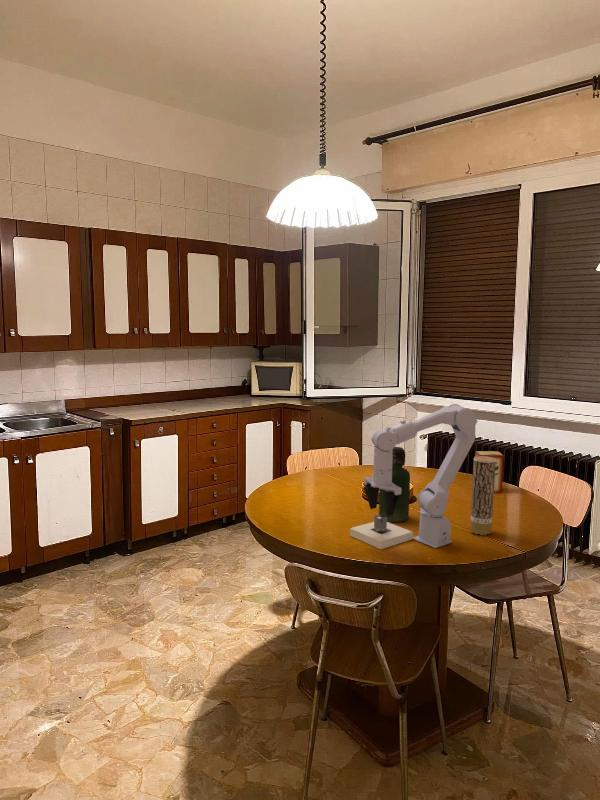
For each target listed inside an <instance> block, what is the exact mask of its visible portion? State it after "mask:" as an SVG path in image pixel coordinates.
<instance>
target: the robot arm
mask: <svg viewBox="0 0 600 800" xmlns="http://www.w3.org/2000/svg"><path fill="white" fill-rule="evenodd" d="M477 423H478V418H477V416H476V414H475V412H474V411H473V410H472V409H470V408H468V407H464V406H461V405H460V404H458V403H453V404H452V403H451V404H450V405H446V406H443V407H441V408H440V409H438V410H436V411H434V412H431V413H429V414H427V415H424V416H423V417H421V418H418V419H417V420H414V421H412V420H409V419H407V420H405V419H401V420H400V422H399V423H397V424H395V425H391V426H390V425H388V426H386V428H385V429H383V428H382V429H381V428H380V429H378V430H376V431H375V432H374V433H373V435H372V437H371V442H372V444H373V472H372V475H373V476H372V477H370V476H367V477H364V478H363V484H364V485H365V486H363V490H364V492H365V495H366V497H367V501H368V506H369V509H370V510H373V509H377V506H378V496H379V493H380V489H383V490H386V491H389V493H385V494H384V497H385V500H386V512H387V515H388V516H390V515H393V513H394V510H395V507H396V504H397V502H398V500H399V498H400V497H401V495H402V493H401V488H400V487H398V486H396V485H395V484H393V483H392V458H393V455H392V451H393V448H394V447H396V446H397V445H400V444H402V443H404V442H407V441H410V440H411V439H414V438H416V437H417V435H418V432H421V431H423V430H424V431H425V430H427V429H430V428H432V427H435V426H438V425H441V424H444V425H449V426H451V428H452V430H453V432H454V435H455V438H454V440H453V442H452V445H451V446H450V448H449V449H448V451H447V453H446V455H445V456H444V457H445V458H444V459H443V461H442V463H441V465H440V467H439V469H438V470H437V472H436V474H435V476H434V478H433V480H432V481H431V482H429V483H426V484H427V485H426V486H425V487H424V488H423V489H422V490H421V491H420V492H419V493H418V495H417V503H418V505H419V506H420V509H419V524H418V525H419V526H418V527H419V528H418V535H416V536H412V540H415V541H417V542H418V543H422V544H424V545H427V546H430V547H432V548H434V549H437V548H439V547H444V546H446V545H448V544H451V543H453V541H452V540H451V533H452V523H451V520H450V519H449V518H448V517H446V516H445V515H444V514H445V512H446V511H447V508H448V506H447V505H448V501H449V499H450V493H449V492H450V491H449V489H450V487H451V485H452V483H453V482H454V480H455V478H456V476H457V474H458V472H459V470H460V468H461V467H462V465H463V463H464V462H465V459H466V458H467V456H468V453H469V451H470V450H471V448H472V446H473V444H474V442H475V441H476V425H477Z"/></svg>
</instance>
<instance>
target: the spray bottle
mask: <svg viewBox="0 0 600 800" xmlns="http://www.w3.org/2000/svg"><path fill="white" fill-rule="evenodd" d="M392 455H393V458H392V483H393V484H395V485H396V486H398V487H400V488H401V493H402V495H401V497H400V498H399V500H398V502H397V504H396V507H395V510H394V513H393V515H390V516H388V515H387V512H386V500H385V497H384V494H385V493H389V491H386V490H383V489H379V493H378V496H379V498H378V501H379V502H378V515H384V516H386V517H387V522H389V523H391V522H392V523H400V522H405V521H407V520H408V519H409V517H410V512H409V511H410V487H411V473H410V472H409V470H408V469H406V468H404V466H405V463H406V451H405V449H404V448H403V447H401V446H395V447H394V448H393V451H392Z"/></svg>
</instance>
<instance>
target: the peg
mask: <svg viewBox="0 0 600 800" xmlns="http://www.w3.org/2000/svg"><path fill="white" fill-rule="evenodd" d="M373 522H374V531H375V532H377V533H379V534H383V533H386V532H387V522H388V521H387V517H386V516H384V515H379V514H376V515H374V516H373Z"/></svg>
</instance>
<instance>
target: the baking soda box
mask: <svg viewBox="0 0 600 800" xmlns="http://www.w3.org/2000/svg"><path fill="white" fill-rule="evenodd" d="M476 456H488V457H493V458H495V459H496V464H495V482H494V494H502V493H503V492H502V491H503V490H502V489H503V476H504V459H505V458H504V457H505V455H504V454H503V453H501V452H500V451H496V450H495V451H493V450H491V451H490V450H488V451H487V450H486V451H483V450H482V451H481V450H480V451H477V450H475V455H474V457H476Z"/></svg>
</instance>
